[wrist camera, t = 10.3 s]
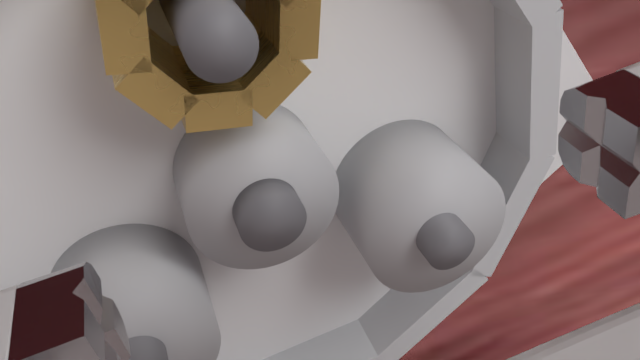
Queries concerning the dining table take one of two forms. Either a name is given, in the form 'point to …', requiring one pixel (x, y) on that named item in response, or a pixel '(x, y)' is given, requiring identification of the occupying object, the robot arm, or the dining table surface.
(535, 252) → the dining table surface
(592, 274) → the dining table surface
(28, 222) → the carrier board
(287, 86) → the wooden octagonal ring
